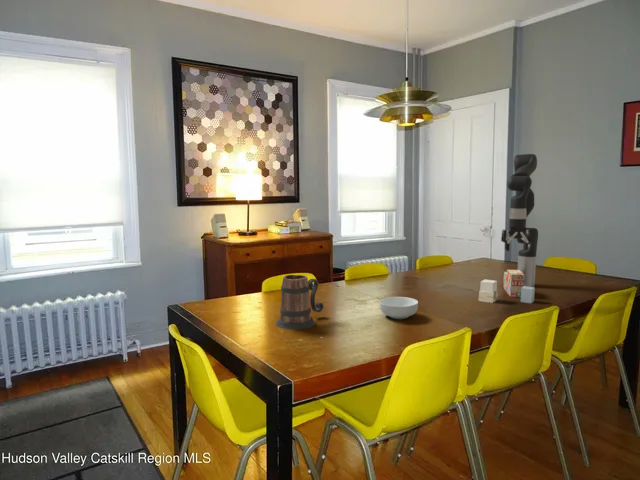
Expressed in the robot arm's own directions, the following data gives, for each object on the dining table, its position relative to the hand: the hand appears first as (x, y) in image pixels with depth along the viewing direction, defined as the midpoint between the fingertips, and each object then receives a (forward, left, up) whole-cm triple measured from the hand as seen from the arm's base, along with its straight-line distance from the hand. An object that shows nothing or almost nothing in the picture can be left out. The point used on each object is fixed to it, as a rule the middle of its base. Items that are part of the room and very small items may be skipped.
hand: (516, 250), depth 221 cm
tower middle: (+5, -11, -21) cm, 24 cm away
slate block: (-5, +5, -26) cm, 27 cm away
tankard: (+89, -62, -26) cm, 112 cm away
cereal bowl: (+57, -33, -26) cm, 71 cm away
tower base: (+5, -11, -26) cm, 28 cm away
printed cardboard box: (-20, -6, -26) cm, 33 cm away
